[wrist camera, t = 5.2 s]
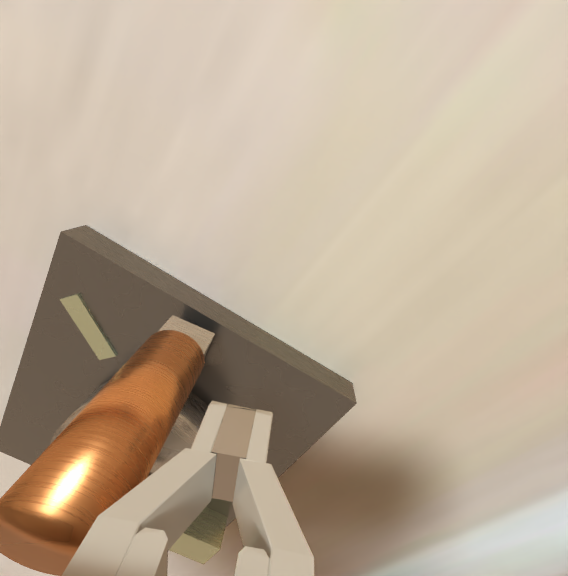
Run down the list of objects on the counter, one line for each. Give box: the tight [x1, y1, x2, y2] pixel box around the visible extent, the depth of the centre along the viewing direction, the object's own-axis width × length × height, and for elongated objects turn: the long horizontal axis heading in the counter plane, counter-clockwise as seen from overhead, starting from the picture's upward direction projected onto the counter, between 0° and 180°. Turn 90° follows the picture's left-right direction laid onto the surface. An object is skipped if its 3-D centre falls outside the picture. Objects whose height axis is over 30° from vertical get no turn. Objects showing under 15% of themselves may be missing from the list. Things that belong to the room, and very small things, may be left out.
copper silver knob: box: [0, 315, 215, 576], centre depth 11 cm, size 8×13×8 cm, turn 155°
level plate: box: [0, 225, 356, 564], centre depth 16 cm, size 16×17×3 cm
